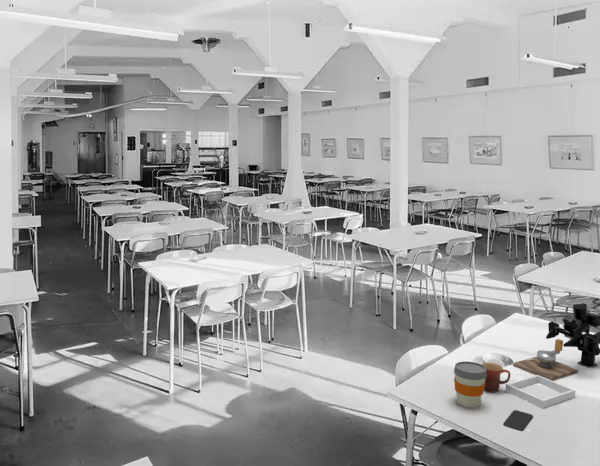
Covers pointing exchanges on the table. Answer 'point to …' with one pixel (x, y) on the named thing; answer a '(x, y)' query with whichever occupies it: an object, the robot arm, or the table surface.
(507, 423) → the phone
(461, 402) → the reusable coffee cup
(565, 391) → the tray frame
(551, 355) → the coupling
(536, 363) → the base plate
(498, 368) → the mug
